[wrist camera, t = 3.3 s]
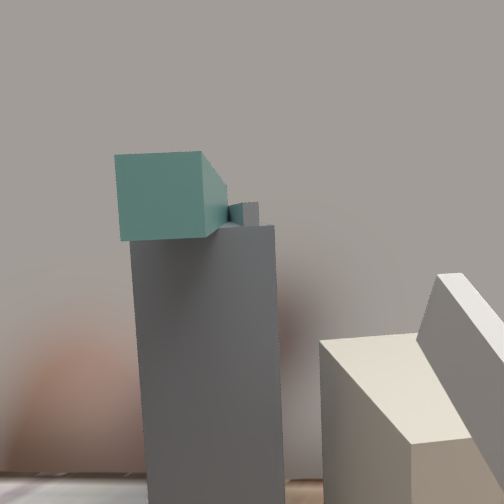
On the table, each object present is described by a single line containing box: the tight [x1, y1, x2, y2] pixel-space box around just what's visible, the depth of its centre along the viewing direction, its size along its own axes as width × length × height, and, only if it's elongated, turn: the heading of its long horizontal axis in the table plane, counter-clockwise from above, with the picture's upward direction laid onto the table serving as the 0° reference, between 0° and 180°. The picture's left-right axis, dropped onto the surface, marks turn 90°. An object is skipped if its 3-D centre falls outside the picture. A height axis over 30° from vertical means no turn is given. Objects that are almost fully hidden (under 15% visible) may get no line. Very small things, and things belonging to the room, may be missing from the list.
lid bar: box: [114, 151, 229, 241], centre depth 30 cm, size 4×26×4 cm, turn 1°
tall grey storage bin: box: [130, 202, 285, 504], centre depth 37 cm, size 9×18×32 cm, turn 6°
